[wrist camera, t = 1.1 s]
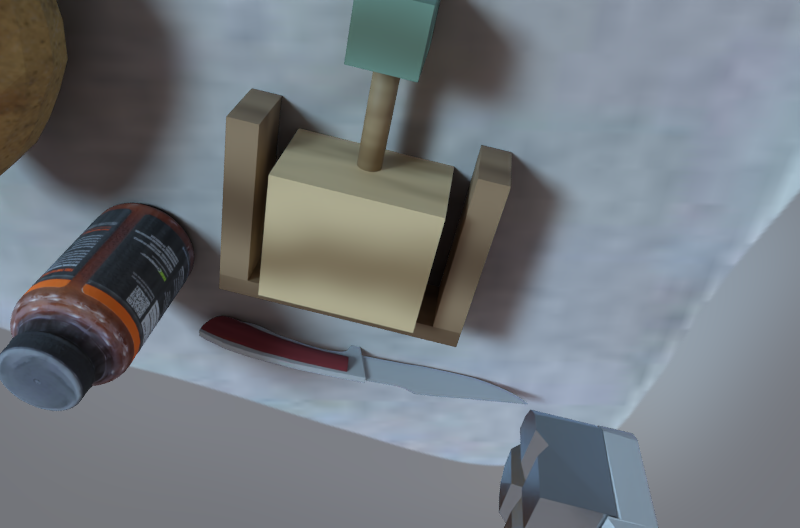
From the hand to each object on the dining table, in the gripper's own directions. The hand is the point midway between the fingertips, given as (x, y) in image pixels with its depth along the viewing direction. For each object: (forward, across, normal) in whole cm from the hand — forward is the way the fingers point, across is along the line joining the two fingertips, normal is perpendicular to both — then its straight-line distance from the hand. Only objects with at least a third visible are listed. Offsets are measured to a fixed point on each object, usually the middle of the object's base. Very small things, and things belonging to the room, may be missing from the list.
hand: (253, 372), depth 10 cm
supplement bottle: (+24, +13, +16) cm, 32 cm away
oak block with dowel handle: (+24, +1, +5) cm, 24 cm away
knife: (+25, -1, +20) cm, 32 cm away
